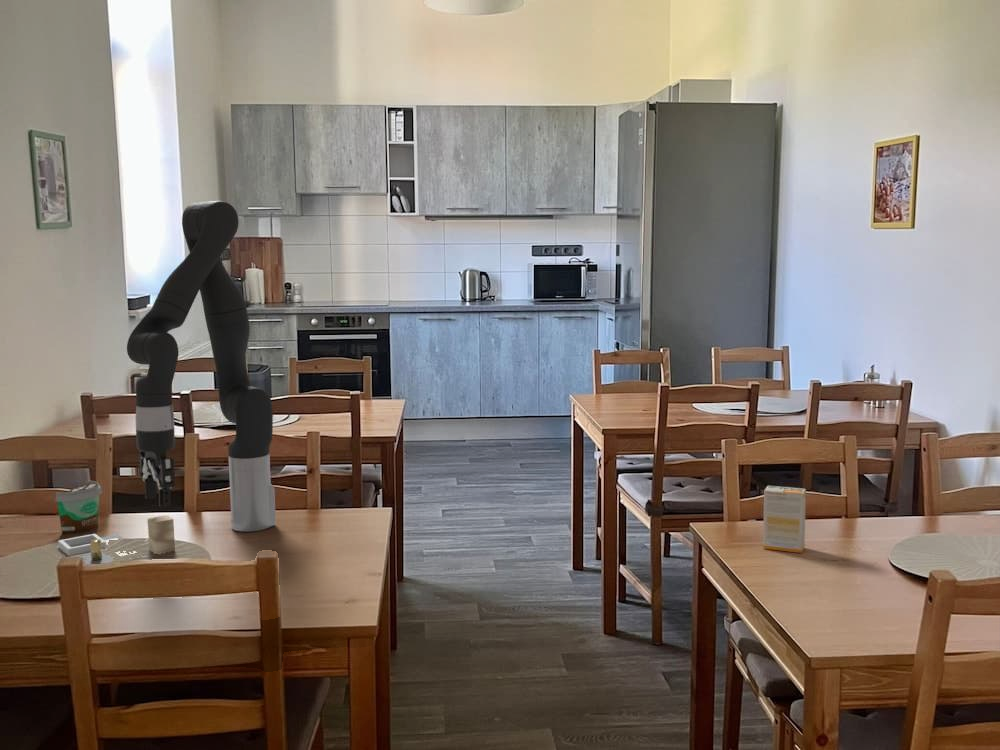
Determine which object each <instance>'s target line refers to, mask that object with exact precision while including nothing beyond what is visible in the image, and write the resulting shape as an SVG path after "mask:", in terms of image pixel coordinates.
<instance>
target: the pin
mask: <svg viewBox="0 0 1000 750" xmlns="http://www.w3.org/2000/svg"><path fill="white" fill-rule="evenodd" d="M90 545H91V560H92V561H99V560H102V550H101V540H100V539H95V540H91V541H90Z"/></svg>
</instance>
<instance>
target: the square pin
mask: <svg viewBox="0 0 1000 750" xmlns="http://www.w3.org/2000/svg"><path fill="white" fill-rule="evenodd" d="M147 530H148V546H149V548H148V550H149V549H150V550H151V551H152V552H153V553H152V552H151V551H150V550H149V551H150V552H151V553H152V554H154V555H155V554H159V555H162V554H161V553H163V554H167V553H166V552H168V553H172V552H171V551H173V552H175V551H176V544H175V525H174V518H172V517H171V516H170V515H167V514H164V515H159V516H153V517H147Z"/></svg>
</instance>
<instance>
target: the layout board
mask: <svg viewBox="0 0 1000 750" xmlns="http://www.w3.org/2000/svg"><path fill="white" fill-rule="evenodd" d="M95 539H100V540H101V549H105V548H106V545H109V544H108V542H109V540H118V539H125V538H124V537H123V536H121V535H119V534H114V535H108V536H102V537H100V536H99V535H97V534H96V533H92V534H85V535H81V536H74V537H70V538H66V539H59V540H57V542H58V545H56V546H55V548H57V549H58V550H59V551H60V552H61V553H63V554H64V555H65V556H66V557H67V558H68V557H71V556H80V557H83V558H84V559H85V558H86V560H85V563H86V564H101V563H109V562H112V561H114V560H113V558H114V557H111V556H110V555H105V553H103V552H102V560H99V561H92V560H91V545H90V541H91V540H95ZM106 550H107V549H106ZM106 550H102V551H106ZM123 552H124V553H120V551H118V552H115V553H116V554H117V555H118V556H120V557H122V556H126V555H128V554H127V553H125V552H126V551H123ZM119 553H120V554H119ZM129 553H130V554H135V553H137V552H136V551H133V553H131V552H129ZM130 554H129V555H130ZM146 555H147V554H146ZM146 555H145V556H142V555H141V556H142V557H144V558H148V557H149V555H148V556H146ZM138 558H139V557H138ZM129 559H132V558H129Z"/></svg>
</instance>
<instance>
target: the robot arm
mask: <svg viewBox="0 0 1000 750" xmlns="http://www.w3.org/2000/svg"><path fill="white" fill-rule="evenodd" d="M181 225H182V226H181V227H182V232H183V235H184V238H185V242H186V245H187V250H188V252H189V253H188V255H187V256H185V258H184V260H183V261H181V262H180V264H179V265H177V267H176V268H175V269H174V270H173V271H172V272H171V273H170V275H168V277H167V279H165V281H164V282H163V284H162V286H161V288H160V289H159V292H158V294H157V296H156V298H155V300H154V302H153V305H152V307H151V309H150V310H149V311H148V312H147V313H146V314H144V317H142V319H140V321H139V323H138V324H137V325H136V326H135V327H134V329H133V330H132V332H131V333H130V335H129V337H128V339H127V343H126V352H127V356H128V358H129V359H130V361H132V362H134V363H135V364H139V365H148V370H147V373H146V376H142V377H141V378H139V379H137V380H136V382H135V402H136V404H135V406H136V410H135V436H136V438H135V439H136V440H135V441H136V450H138V451H139V452H138V453H139V476H140V478H142V481H143V482H144V498H145V499H146V500H154V499H157V494H158V506H159V507H161V508H166V507H170V506H171V505H172V501H171V499H172V498H171V497H172V496H171V495H172V493H171V489H172V488H175V486H176V477H175V460H174V458H172V457H171V458H168V454H167V452H168V451H170V450H173V449H174V448H175V445H176V443H175V442H176V441H175V434H176V433H175V414H174V407H173V390H172V385H173V381H174V378H175V377H174V376H175V372H176V368H177V365H178V359H179V346H178V343H177V340H176V338H175V337H174V335H172V334H171V333H169V332H170V331H172V330H174V329H178V328H180V327H182V326H183V325H184V323H185V321H186V319H187V316H188V314H189V313H190V310H191V308H192V306H193V304H194V302H195V300H196V298H197V295H198V294H199V292H200V298H201V303H202V307H203V313H204V319H205V323H206V328H207V332H208V336H209V341H210V346H211V351H212V356H213V361H214V365H215V371H216V378H217V388H218V398H219V399H218V401H219V406H220V410H221V413H222V415H223V416H224V418H225V419H226V420H227V421H228V422H230V423H232V424H235V438H234V440H232V441H230V442H229V444H228V446H227V451H228V471H229V474H228V475H229V477H228V478H229V495H230V496H229V497H230V516H231V517H230V523H231V529H232V530H234V531H236V532H247V533H248V532H259V531H263V530H267V529H269V528H271V527H272V526H273V527H274V526H276V523H277V522H276V521H277V520H276V497H275V493H276V492H275V486H274V485H273V484H272V483H271V481H272V480H271V459H270V455H271V454H270V447H271V444H272V441H273V427H274V426H273V425H274V424H273V421H274V419H273V418H274V416H273V413H274V412H273V403H272V402H273V401H272V399H271V396H270V395H269V393H268V392H267V391H266V390H265V389H262V388H260V387H257V386H252V385H251V382H250V378H249V374H248V370H247V363H246V362H247V361H246V355H247V349H248V344H249V339H250V328H251V327H250V326H251V325H250V319H249V313H248V309H247V304H246V301H245V298H244V296H243V294H242V292H241V290H240V288H239V287H238V286H237V284H236V283H235V281H234V280H233V278H232V277H231V275H230V274H229V272H228V271H227V269H226V267H225V265H224V263H223V261H222V257H221V256H222V255H223V253H224V252H225V250H226V249H227V248H228V247H229V245H230V244H231V242H232V240H233V239H234V237H235V236H236V234H237V233H238V232H237V231H238V228H239V216H238V213H237V210H236V209H235V207H234V206H233V205H231V204H230V203H229V202H227V201H225V200H224V201H223V200H210V201H200V202H194V203H190V204H189V205H187V206H186V208H184V211H183V212H182V216H181ZM157 488H158V493H157Z"/></svg>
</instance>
